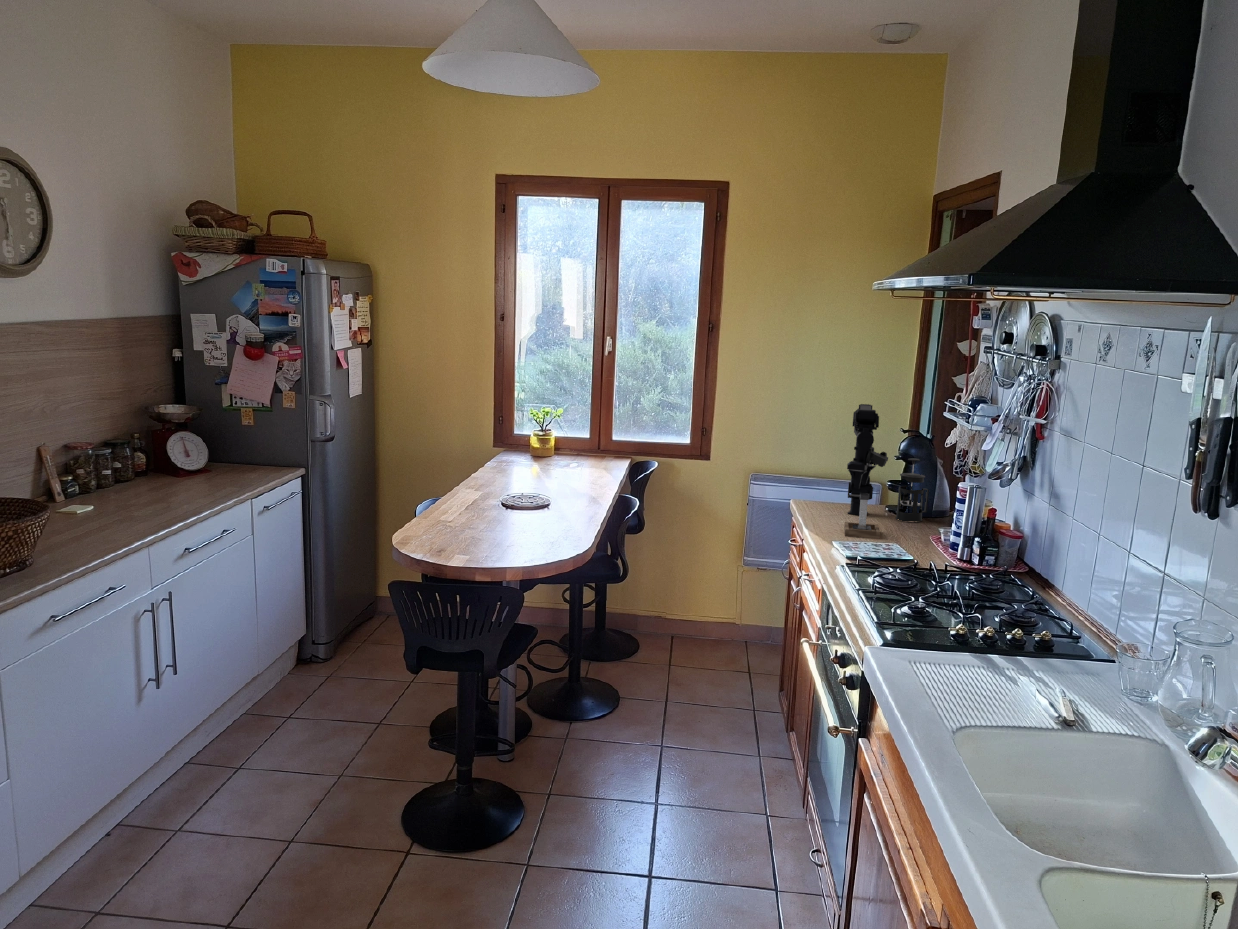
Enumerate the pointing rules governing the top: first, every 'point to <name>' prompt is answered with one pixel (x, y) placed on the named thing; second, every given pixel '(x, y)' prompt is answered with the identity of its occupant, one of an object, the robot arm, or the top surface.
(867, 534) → the dock
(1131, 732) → the top surface
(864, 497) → the post on square base
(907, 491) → the french press
